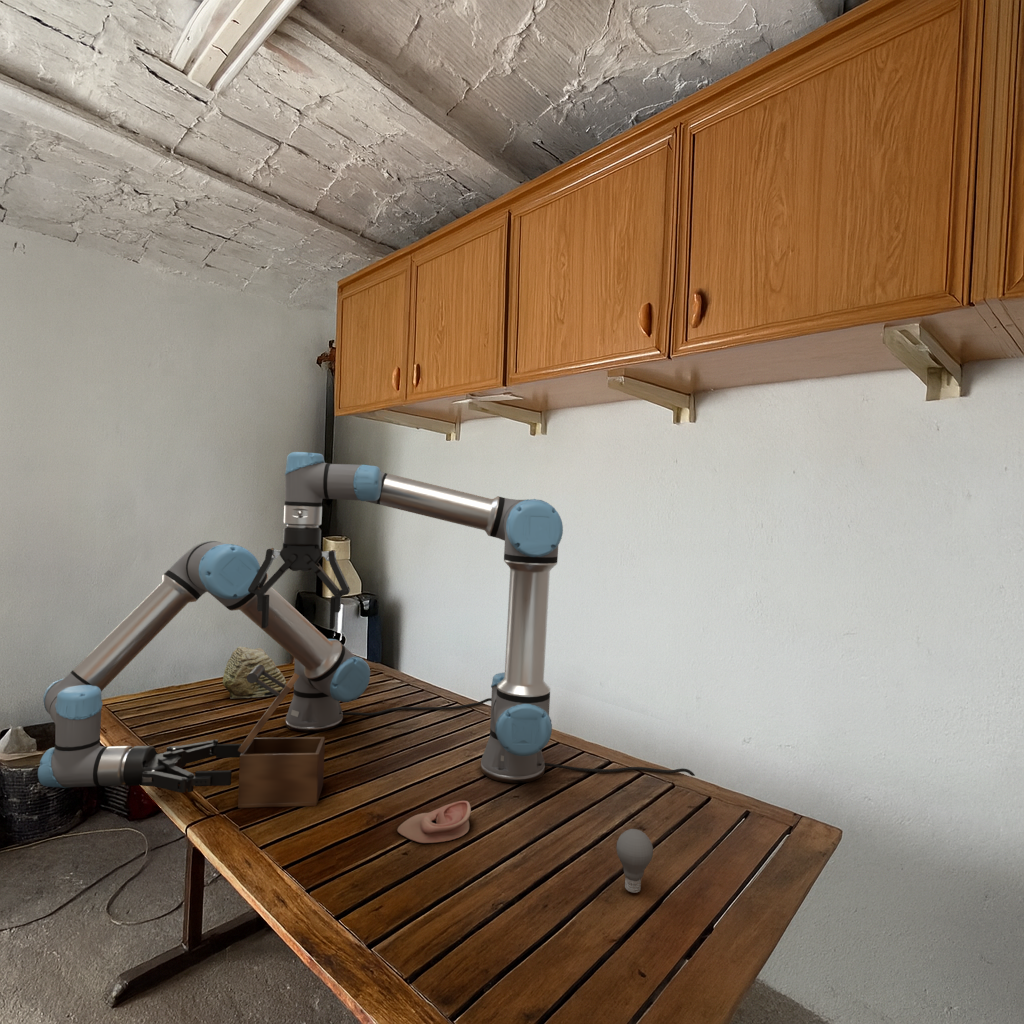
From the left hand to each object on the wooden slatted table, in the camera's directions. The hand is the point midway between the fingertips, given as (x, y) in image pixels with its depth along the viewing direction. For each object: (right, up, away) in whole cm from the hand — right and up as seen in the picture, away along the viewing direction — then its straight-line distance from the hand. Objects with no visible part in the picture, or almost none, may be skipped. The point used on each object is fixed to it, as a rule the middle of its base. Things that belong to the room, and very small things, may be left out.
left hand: (240, 763), depth 132 cm
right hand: (+12, +28, +1) cm, 30 cm away
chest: (+8, -8, +2) cm, 11 cm away
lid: (+6, +10, +1) cm, 12 cm away
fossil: (-24, -5, +66) cm, 71 cm away
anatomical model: (+42, -9, -9) cm, 43 cm away
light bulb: (+77, -11, -26) cm, 82 cm away
